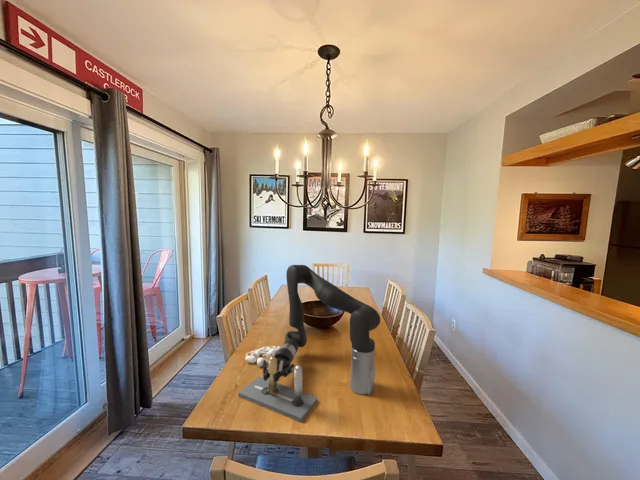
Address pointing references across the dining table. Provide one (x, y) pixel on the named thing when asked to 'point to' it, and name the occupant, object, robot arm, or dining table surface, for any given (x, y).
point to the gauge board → (278, 399)
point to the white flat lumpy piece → (257, 353)
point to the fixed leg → (298, 385)
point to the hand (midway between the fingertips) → (269, 379)
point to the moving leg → (272, 376)
